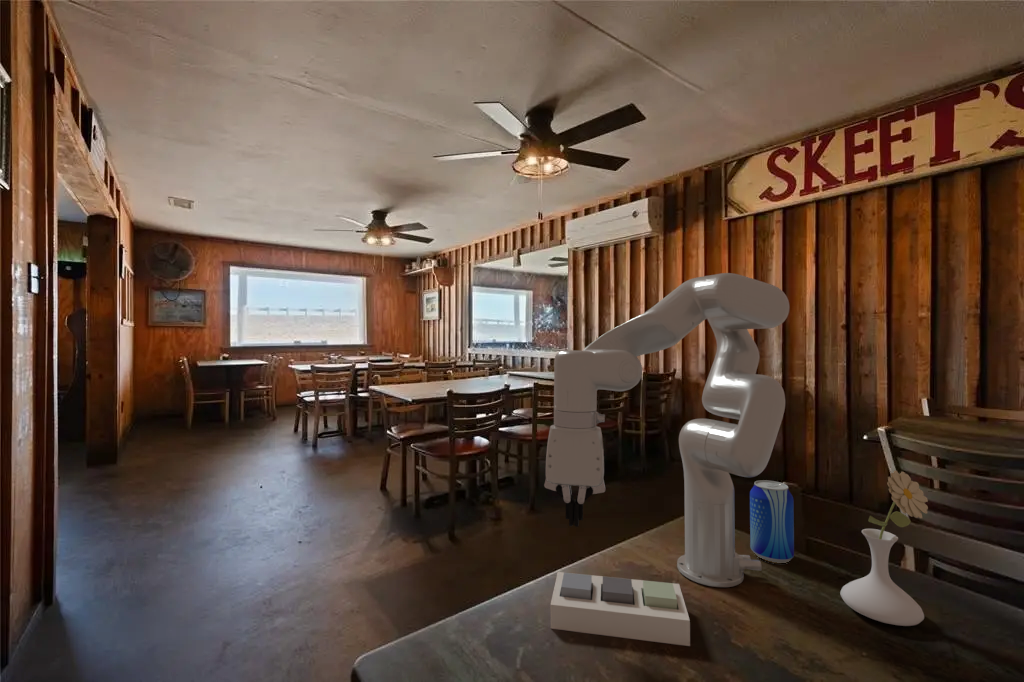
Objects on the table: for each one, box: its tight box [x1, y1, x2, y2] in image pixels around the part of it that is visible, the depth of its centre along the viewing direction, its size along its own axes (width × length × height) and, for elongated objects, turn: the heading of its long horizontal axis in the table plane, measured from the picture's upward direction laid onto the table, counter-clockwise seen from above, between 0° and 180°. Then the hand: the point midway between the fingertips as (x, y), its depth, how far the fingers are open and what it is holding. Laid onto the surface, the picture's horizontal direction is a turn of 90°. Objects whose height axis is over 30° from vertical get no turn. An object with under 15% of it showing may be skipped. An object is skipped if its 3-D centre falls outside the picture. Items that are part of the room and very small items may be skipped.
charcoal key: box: [602, 576, 633, 605], centre depth 78 cm, size 5×5×3 cm
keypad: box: [550, 571, 691, 647], centre depth 78 cm, size 22×11×4 cm, turn 78°
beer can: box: [749, 479, 795, 564], centre depth 100 cm, size 8×8×16 cm
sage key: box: [643, 580, 677, 609], centre depth 77 cm, size 5×5×3 cm
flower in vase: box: [839, 470, 929, 627], centre depth 79 cm, size 13×11×25 cm
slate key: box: [561, 572, 593, 600], centre depth 80 cm, size 5×5×3 cm
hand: (574, 523), depth 80 cm, fingers closed
